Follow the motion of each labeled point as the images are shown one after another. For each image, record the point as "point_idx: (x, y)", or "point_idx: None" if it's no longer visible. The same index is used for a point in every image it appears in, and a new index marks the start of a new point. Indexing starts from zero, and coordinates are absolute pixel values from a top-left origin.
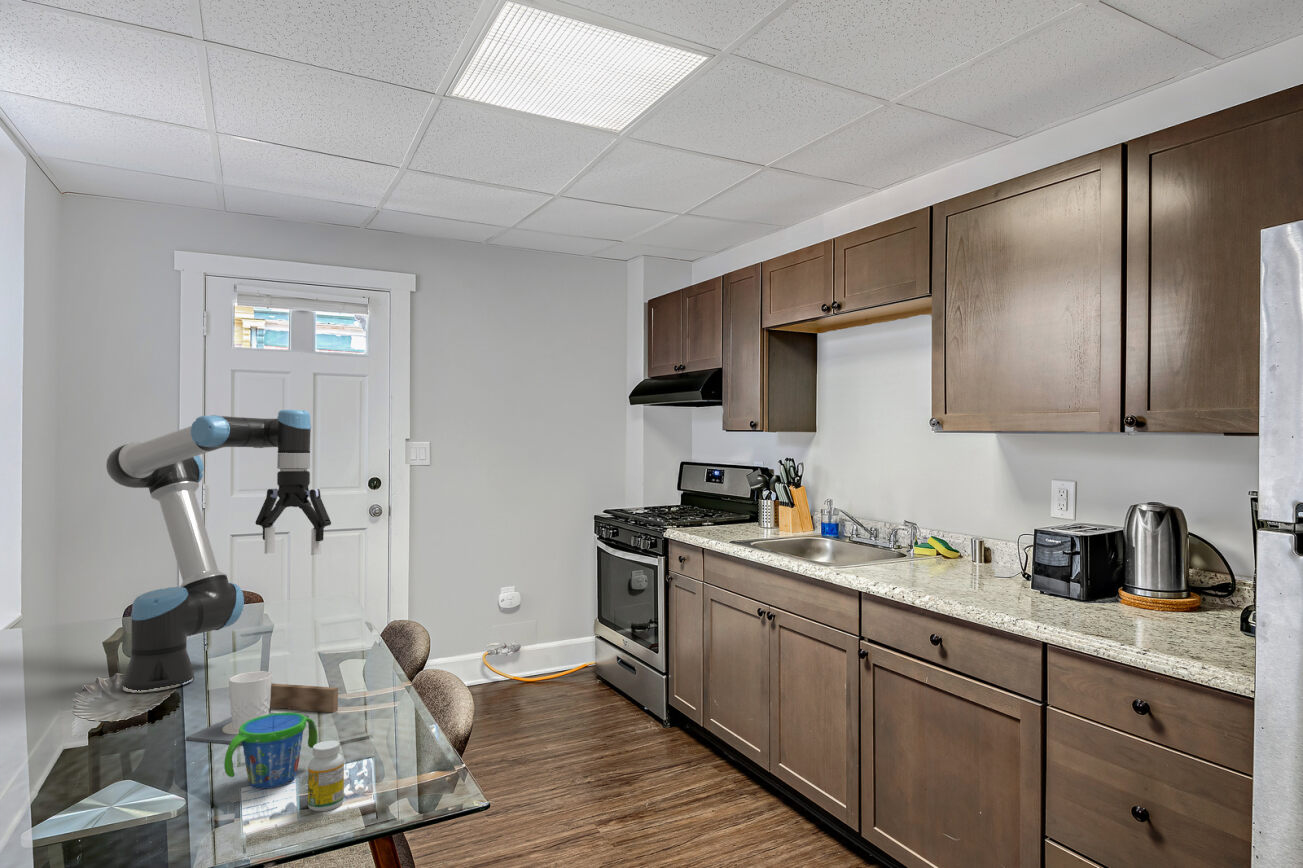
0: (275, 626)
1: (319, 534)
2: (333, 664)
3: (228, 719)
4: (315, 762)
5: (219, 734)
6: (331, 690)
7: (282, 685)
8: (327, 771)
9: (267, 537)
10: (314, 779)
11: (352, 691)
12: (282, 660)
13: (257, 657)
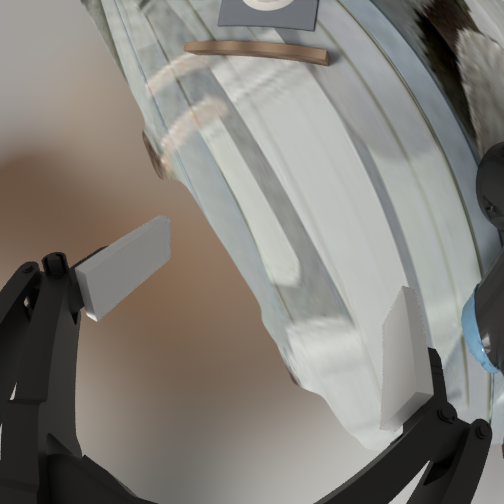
0: None
1: (84, 259)
2: (306, 260)
3: (313, 1)
4: None
5: None
6: (188, 42)
7: (266, 46)
8: None
9: (411, 344)
10: None
11: (216, 125)
12: (391, 290)
13: (430, 308)
